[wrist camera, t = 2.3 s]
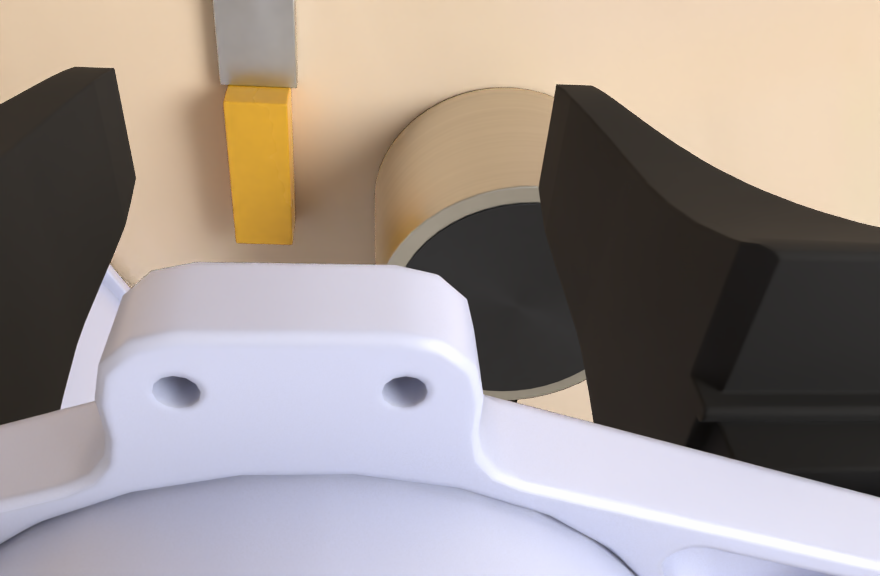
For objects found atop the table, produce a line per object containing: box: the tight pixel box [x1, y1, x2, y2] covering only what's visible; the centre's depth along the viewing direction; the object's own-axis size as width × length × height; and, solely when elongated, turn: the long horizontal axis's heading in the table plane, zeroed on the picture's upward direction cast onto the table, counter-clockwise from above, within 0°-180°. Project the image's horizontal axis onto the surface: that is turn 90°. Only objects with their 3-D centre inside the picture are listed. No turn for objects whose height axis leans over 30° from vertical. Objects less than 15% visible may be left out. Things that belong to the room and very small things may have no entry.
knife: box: [212, 0, 298, 245], centre depth 23 cm, size 12×2×1 cm, turn 175°
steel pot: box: [375, 88, 586, 403], centre depth 27 cm, size 15×8×6 cm, turn 175°
